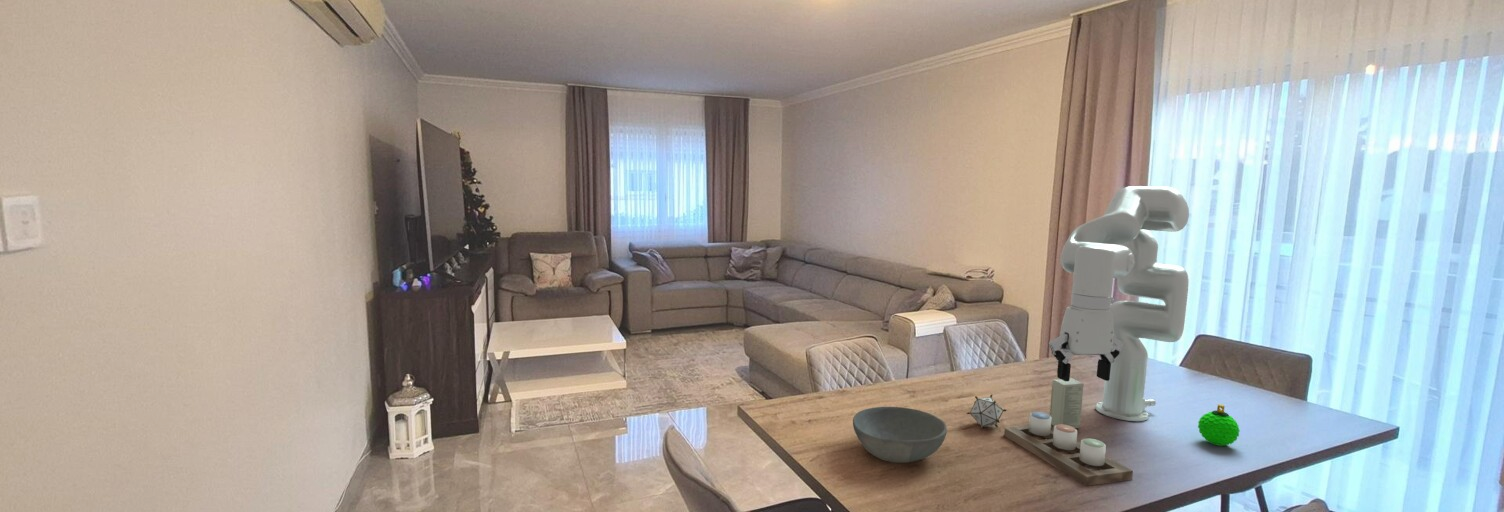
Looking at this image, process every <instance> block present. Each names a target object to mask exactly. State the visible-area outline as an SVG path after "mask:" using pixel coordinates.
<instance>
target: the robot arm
mask: <svg viewBox="0 0 1504 512" xmlns="http://www.w3.org/2000/svg"><path fill="white" fill-rule="evenodd" d="M1188 205H1189V204H1188V202H1187V200H1186V199H1185V198H1184V196H1183V194H1182V193H1181V192H1180V191H1179V190H1178V189H1176V188H1174V187H1170V186H1142V185H1139V186H1137V185H1136V186H1134V185H1133V186H1125V187H1122V188H1120V189H1119V190H1117V191H1116V192H1115V193H1114V195H1113V197H1112V198H1111V200H1110V202H1109V203H1108V206H1107V207H1106V209H1105V212H1104V213H1103V215H1102V216H1099V217H1097V218H1094V219H1092V220H1090V221H1088V222H1085V223H1082V224H1081V225H1079V226H1077V227H1076V228H1075V229H1074V230H1073V231H1072V232H1071V233H1070V234H1069V237H1068V238H1067V240H1066V241H1065V243H1064V245H1063V248H1062V250H1061V254H1060V264H1061V267H1062V269H1063V270H1064V271H1066V272H1067V273H1069V274H1073V279H1072V288H1071V297H1070V306H1066V309H1065V311H1064V314H1063V318H1062V322H1061V326H1060V331H1059V336H1057V337H1056V338H1054V339H1051V340H1050V341H1049V342H1048V345H1049V348H1050V350H1051V354H1052V356H1054V357H1055V360H1056V361H1057V370H1056V372H1057V373H1056V374H1057V375H1056V376H1057V379H1062V380H1064V381H1069V380H1070V378H1071V367H1072V364H1071V363H1069V362H1070V361H1071V360H1072V358H1073V357H1074V356H1099V357H1100V359H1099V358H1098V360H1097V367H1096V368H1097V369H1096V377H1097V378H1098V379H1102V380H1103V381H1104V384H1103V395H1102V401H1099V402H1097V403H1096V404H1095V409H1096V411H1097V412H1098V413H1100V414H1103V415H1104V416H1107V417H1110V418H1113V419H1117V420H1122V421H1127V422H1129V421H1130V422H1144V421H1146V420H1148V419H1149V412H1148V411H1147V410H1146V408H1147V407H1154V406H1156V404H1157V403H1156V400H1155V399H1153V398H1147V399H1146V398H1145V389H1146V378H1147V371H1148V369H1147V368H1148V361H1149V354H1148V351H1147V349H1146V347H1145V345H1144V343H1143V342H1142V341H1141V339H1148V340H1153V341H1159V342H1166V343H1176V342H1178V341H1179V340H1181V338H1182V336H1183V333H1184V329H1185V321H1186V320H1185V319H1186V313H1187V305H1188V304H1187V302H1188V294H1189V275H1188V272H1187V270H1186V269H1185V268H1184V267H1182V266H1179V265H1175V264H1166V263H1159V262H1158V251H1159V243H1158V241H1157V240H1156V238H1155V236H1154V235H1153V234H1152V232H1151V231H1153V232H1155V231H1158V232H1173V233H1174V232H1179V231H1182V230H1183V229H1185V227H1186V226H1187V224H1188V222H1189V217H1190V209H1189V206H1188ZM1114 279H1117V284H1116V285H1117V289H1118V291H1119V292H1120V293H1121V294H1122V295H1126V296H1132V297H1137V298H1142V299H1143V298H1144V299H1152V300H1160V301H1162V302H1164V304H1157V303H1156V304H1155V303H1148V302H1144V301H1143V302H1142V301H1136V300H1135V301H1134V300H1117V301H1115V298H1114V297H1112V294H1113V293H1112V292H1113V283H1114Z"/></svg>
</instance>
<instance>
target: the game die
mask: <svg viewBox="0 0 1504 512" xmlns="http://www.w3.org/2000/svg"><path fill="white" fill-rule="evenodd" d="M974 397H975V398H974V399H976V400H975V401H974V402H973V403H974V404H973V406H972V407H971V410H970V412H966V415H971V417H973V419H974V420H975V421H976V422H977V423H978V425H979V426H980V430H981V431H982V430H983V429H984V428H985V427H990V426H991V427H992V426H995V428H999V425H998V423H1000V418H1001V416H1002V415H1003V412H1007V411H1008V410H1007V409H1005V408H1004V409H1003V408H1002V407H1001V406H1000V405H999V404H998V403H997V401H996V400H995V399H994V398H993V394H992V393H991V394H990V396H989V397H981V398H980V397H979V398H978V396H976V395H975V396H974ZM983 427H984V428H983Z"/></svg>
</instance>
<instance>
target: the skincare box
mask: <svg viewBox="0 0 1504 512" xmlns="http://www.w3.org/2000/svg"><path fill="white" fill-rule="evenodd" d="M1050 394H1051V395H1050V405H1049V407H1050V408H1049V416H1051V418H1052V419H1051V426H1053V427H1054V426H1055V425H1059V424H1063V425H1069V426H1072V427H1074V428H1075V429H1077V428H1080V427H1081V417H1082V416H1081V415H1082V408H1083V407H1082V406H1083V395H1084V382H1082V381H1079V380H1077V379H1075V378H1072V377H1070V380H1069V381H1064V380H1062V379H1059V378H1055V379H1052V383H1051V393H1050Z"/></svg>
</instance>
